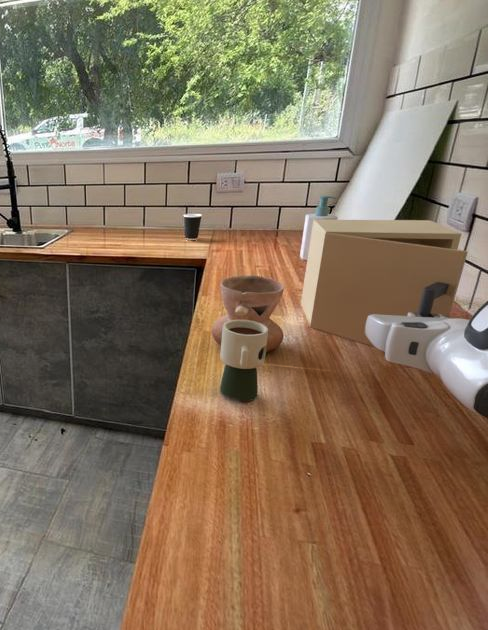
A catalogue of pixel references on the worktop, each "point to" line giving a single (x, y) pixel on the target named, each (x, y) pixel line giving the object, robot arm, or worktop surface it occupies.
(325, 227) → the cupboard
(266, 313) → the terracotta hourglass vessel
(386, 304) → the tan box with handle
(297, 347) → the worktop surface
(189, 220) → the dixie cup
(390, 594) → the worktop surface
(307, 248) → the soap bottle
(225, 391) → the character mug
